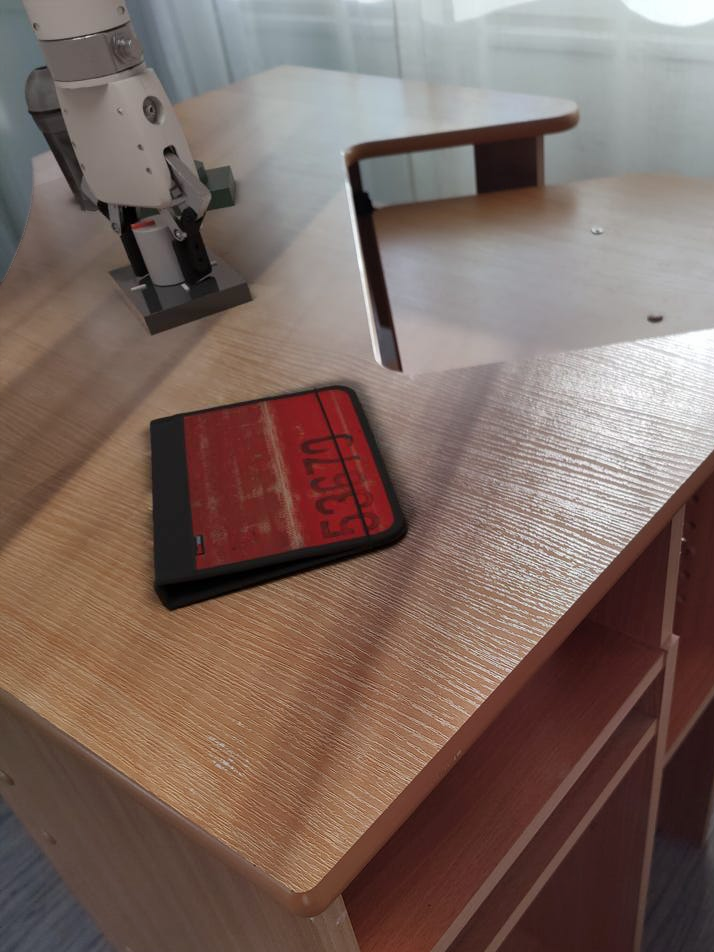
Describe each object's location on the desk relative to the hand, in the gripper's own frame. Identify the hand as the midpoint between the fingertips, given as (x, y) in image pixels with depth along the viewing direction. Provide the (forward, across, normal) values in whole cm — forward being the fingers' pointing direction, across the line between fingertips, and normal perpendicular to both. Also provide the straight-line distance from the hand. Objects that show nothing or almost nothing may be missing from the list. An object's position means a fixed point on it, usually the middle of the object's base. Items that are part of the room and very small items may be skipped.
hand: (173, 272), depth 84 cm
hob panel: (+3, 0, 0) cm, 3 cm away
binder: (+4, -29, +22) cm, 37 cm away
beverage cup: (+3, +35, -21) cm, 41 cm away
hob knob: (0, 0, 0) cm, 0 cm away
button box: (+3, +22, -24) cm, 33 cm away
